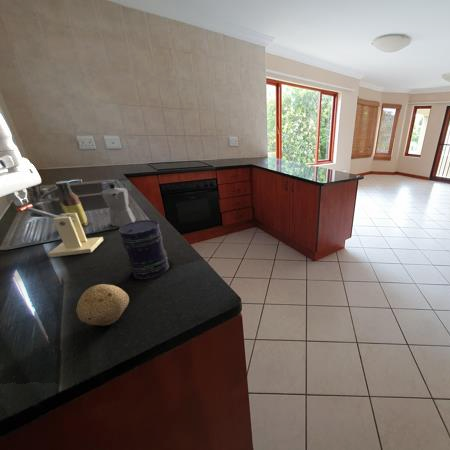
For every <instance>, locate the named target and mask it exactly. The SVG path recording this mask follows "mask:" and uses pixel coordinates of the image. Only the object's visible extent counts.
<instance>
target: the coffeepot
mask: <svg viewBox="0 0 450 450" xmlns="http://www.w3.org/2000/svg"><path fill="white" fill-rule="evenodd" d="M109 186H110V188H108V189H104V190H102V191H101V192H100V195H101V196H102V198H103V200H104V202H105V204H106V206H107V207H108V208H109V216H110V224H111V225H112V226H113V227H122V226H124V225H126V224H129V223H132V222H136V221H137V220H136V217H135V215H134V214H133V212H132V209H131V208H130V207H129V204H130V201H129V194H128V193H129V192H128V189H127V188H124V187H117V186H116V185H115V183H111V184H110V185H109Z"/></svg>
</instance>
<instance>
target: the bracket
mask: <svg viewBox="0 0 450 450" xmlns="http://www.w3.org/2000/svg"><path fill="white" fill-rule="evenodd" d="M64 215H66V216H70V217H62V216H64ZM59 216H61V217H59V218H52V221H53V223H54V225H55V227H56V229H57V232H58V234H59V237H60V239H61V241H62V242H61V243H60V244H58V245H57V246H55V247H54V248H53V249H52V250H51V251H49V252H48V253H47V255H48V257H49V258H56V257H65V256H74V255H82V254H89V253H93V252H94V251H95V250H96V249H97V248H98V246H100V244H102V242H104V236H99V237H97V236H96V237H88V238H87V236H86V233H85V231H84V227H82V225H81V223H80V220H79V218H78V215H77V213H66V214H64V213H61V214H59ZM71 217H73V218H74V221H73V222H72V219H71Z"/></svg>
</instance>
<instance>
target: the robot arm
mask: <svg viewBox="0 0 450 450" xmlns="http://www.w3.org/2000/svg"><path fill="white" fill-rule="evenodd" d="M40 184H42V178H41V176H40V174H39V172H38V170H37V169H36V167H35V165H33V164H32V162H30V160H29V159H28V158H26V157H23V156H22V154H21V152H20V150H19V147H18V146H17V145H16V144H15V142H14V140H13V135H12V133H11V129H10V128H9V126H8V124H7V122H6V120H5V118H4V117H3V115H2V113H0V198H2V197H5V196H6V197H7V198H8V199H10V201H13V204H14V205H15V206H17V207H20V206H24V205H27V204H29V200H28V190H27V189H29V188H31V187H35V186H38V185H40Z"/></svg>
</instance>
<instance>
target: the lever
mask: <svg viewBox="0 0 450 450" xmlns="http://www.w3.org/2000/svg"><path fill="white" fill-rule="evenodd" d="M24 211H26V212H29V213H33V214H37V215H41V216H43V217H46V218H50V219H53V218H59V217H61V216H60V215H57V214H54V213H52V212H51V213H50V212H47V211H44V210H40V209H37V208H33V204H31V203H27V204H24V205H22V206H21V207H18V208H16V212H18V213H23V212H24ZM62 217H70V216H66V215H64V216H62ZM71 219H72V222H73V221H74V218H73V217H71Z"/></svg>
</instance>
